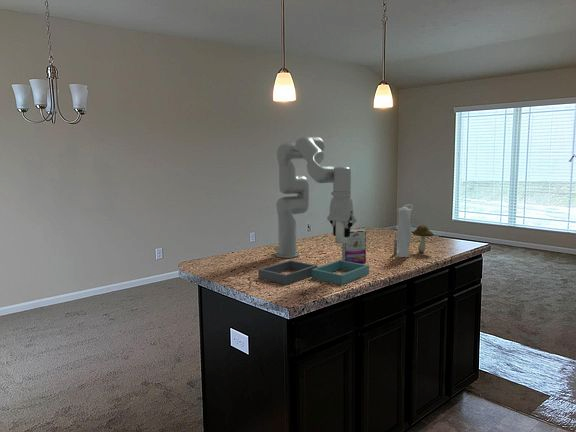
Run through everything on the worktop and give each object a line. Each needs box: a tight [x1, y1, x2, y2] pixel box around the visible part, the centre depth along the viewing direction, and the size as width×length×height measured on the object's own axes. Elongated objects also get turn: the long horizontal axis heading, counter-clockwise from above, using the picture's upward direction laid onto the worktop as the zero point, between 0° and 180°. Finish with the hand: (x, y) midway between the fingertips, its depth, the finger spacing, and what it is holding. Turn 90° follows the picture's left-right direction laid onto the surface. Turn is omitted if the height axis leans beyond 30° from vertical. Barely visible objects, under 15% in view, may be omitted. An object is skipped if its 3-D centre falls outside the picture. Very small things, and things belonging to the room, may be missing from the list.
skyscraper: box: [392, 203, 414, 259], centre depth 241 cm, size 8×8×28 cm
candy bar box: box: [341, 228, 367, 264], centre depth 229 cm, size 11×5×16 cm, turn 105°
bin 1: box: [257, 259, 318, 286], centre depth 205 cm, size 16×22×4 cm
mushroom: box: [412, 224, 434, 253], centre depth 250 cm, size 9×11×15 cm
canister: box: [334, 221, 347, 245], centre depth 202 cm, size 5×5×10 cm
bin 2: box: [311, 259, 370, 286], centre depth 205 cm, size 16×22×4 cm
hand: (341, 235), depth 202 cm, fingers closed on canister, 5 cm apart
